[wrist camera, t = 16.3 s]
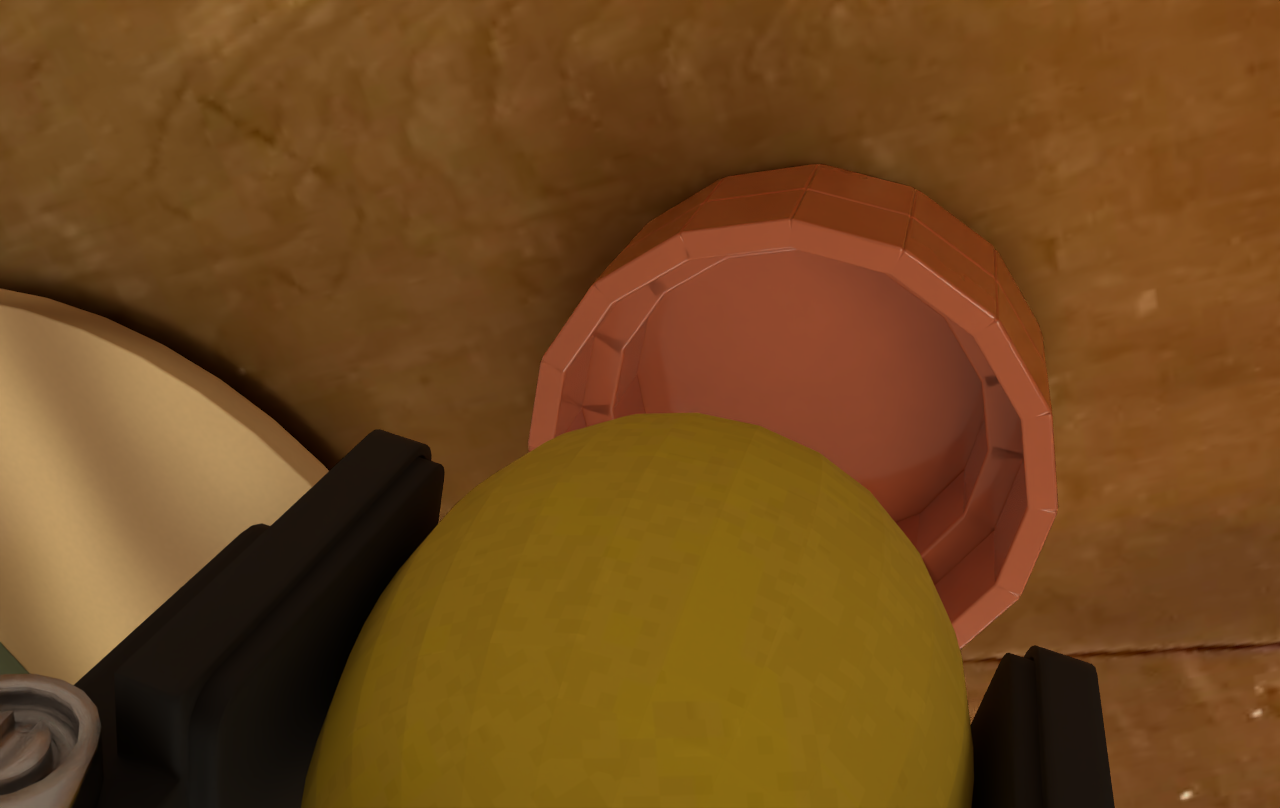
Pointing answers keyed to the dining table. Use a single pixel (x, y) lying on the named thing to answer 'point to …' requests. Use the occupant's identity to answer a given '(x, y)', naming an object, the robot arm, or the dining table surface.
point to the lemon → (655, 640)
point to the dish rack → (117, 480)
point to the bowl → (836, 359)
